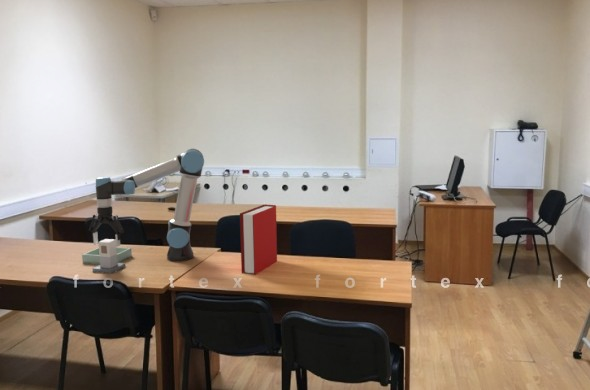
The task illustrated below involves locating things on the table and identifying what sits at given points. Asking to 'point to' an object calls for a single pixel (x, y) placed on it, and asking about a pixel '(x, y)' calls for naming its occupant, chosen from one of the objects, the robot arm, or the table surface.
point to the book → (258, 238)
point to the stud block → (108, 270)
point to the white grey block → (108, 253)
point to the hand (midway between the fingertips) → (107, 245)
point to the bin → (94, 258)
